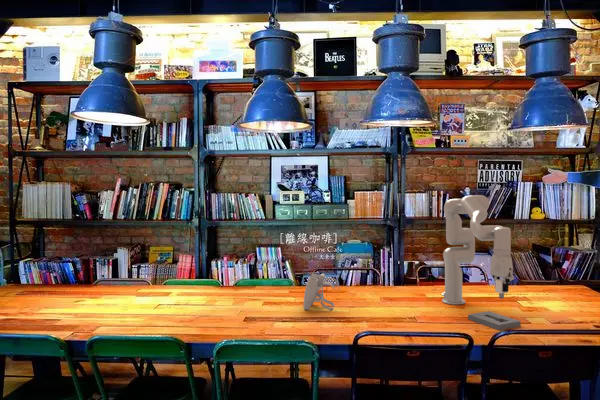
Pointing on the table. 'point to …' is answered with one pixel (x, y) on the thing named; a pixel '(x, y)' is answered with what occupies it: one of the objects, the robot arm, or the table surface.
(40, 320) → the table surface
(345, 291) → the table surface
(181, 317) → the table surface
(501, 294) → the peg
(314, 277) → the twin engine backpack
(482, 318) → the keyhole plate
